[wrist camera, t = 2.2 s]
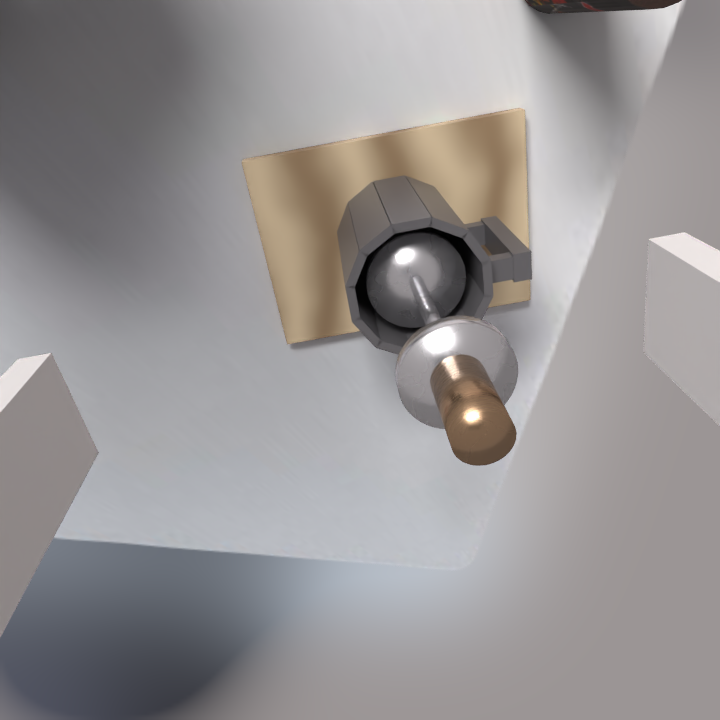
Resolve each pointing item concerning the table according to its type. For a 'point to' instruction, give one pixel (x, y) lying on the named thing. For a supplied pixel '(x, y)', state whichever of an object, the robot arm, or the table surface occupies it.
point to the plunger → (444, 346)
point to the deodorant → (596, 5)
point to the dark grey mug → (429, 213)
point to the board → (351, 175)
